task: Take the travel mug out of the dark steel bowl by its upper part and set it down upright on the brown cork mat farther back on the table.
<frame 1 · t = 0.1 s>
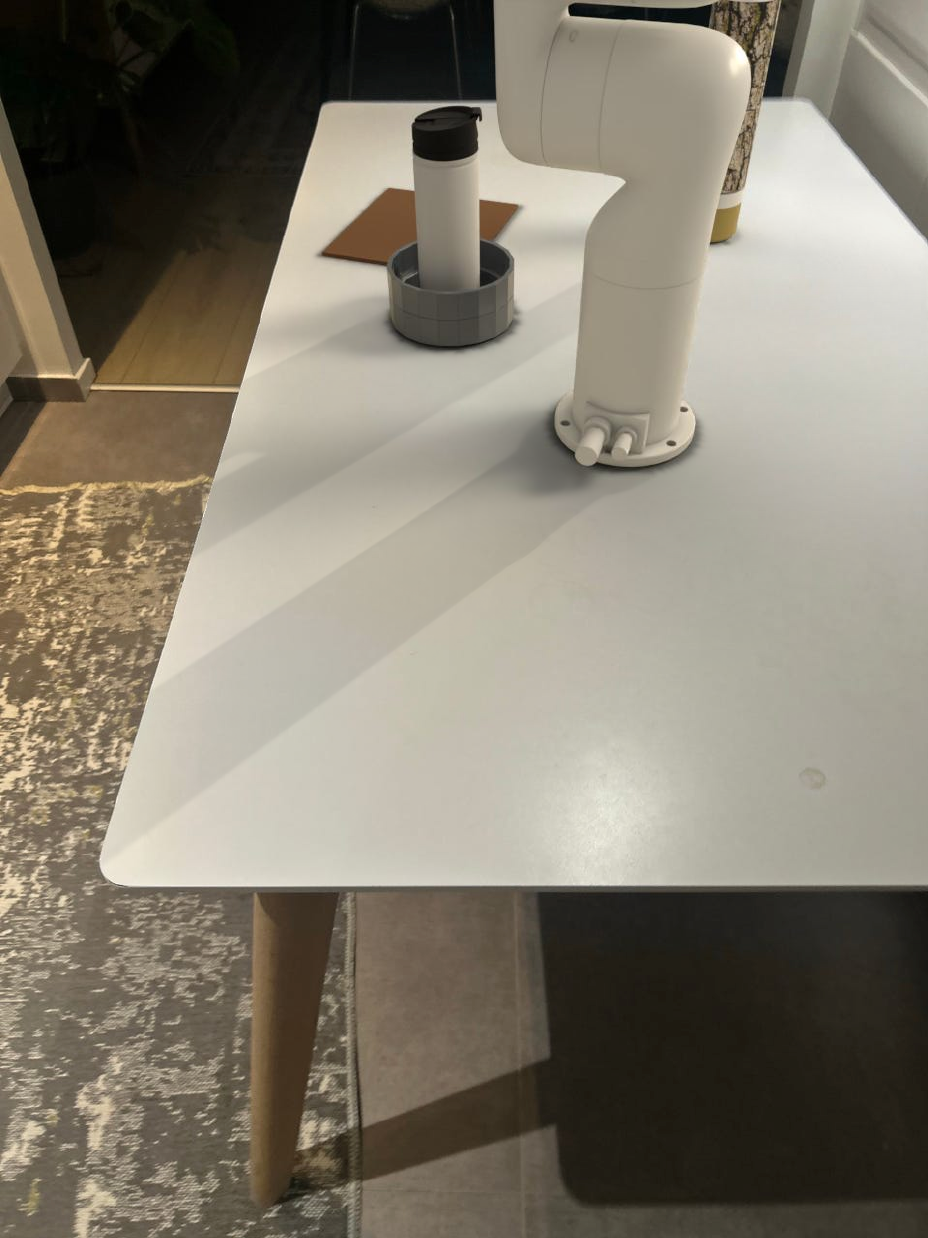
paper tube: (706, 233, 112), on the table
travel mug: (452, 316, 98), resting on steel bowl
cork mat: (423, 230, 113), on the table
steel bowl: (452, 317, 98), on the table
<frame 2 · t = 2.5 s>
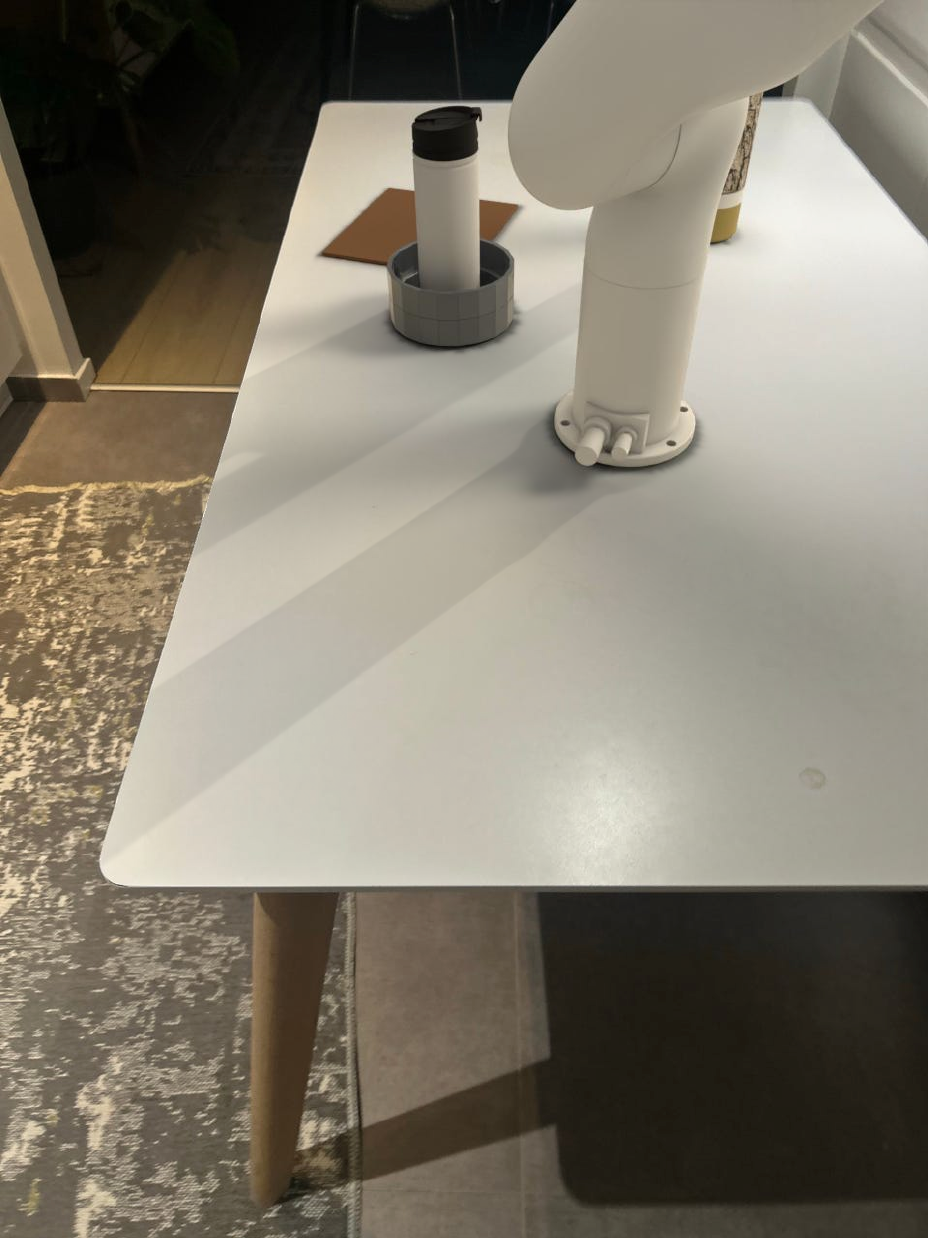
nothing on the table moved.
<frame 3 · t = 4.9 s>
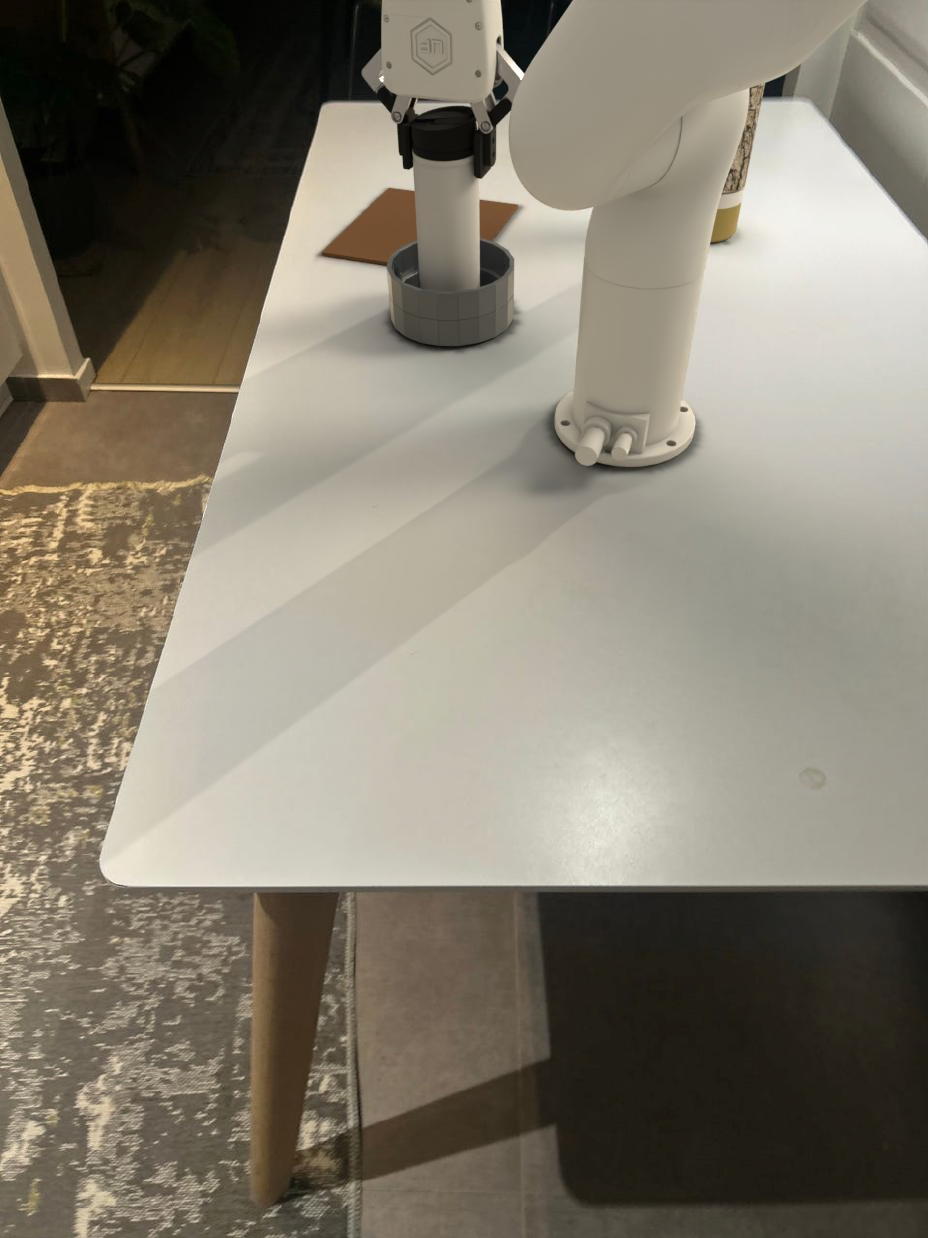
hand: (447, 166, 87), 15 cm above the table, tool pointing down, fingers closed on travel mug, 6 cm apart
travel mug: (452, 316, 98), resting on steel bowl, touching gripper
everything else where it was.
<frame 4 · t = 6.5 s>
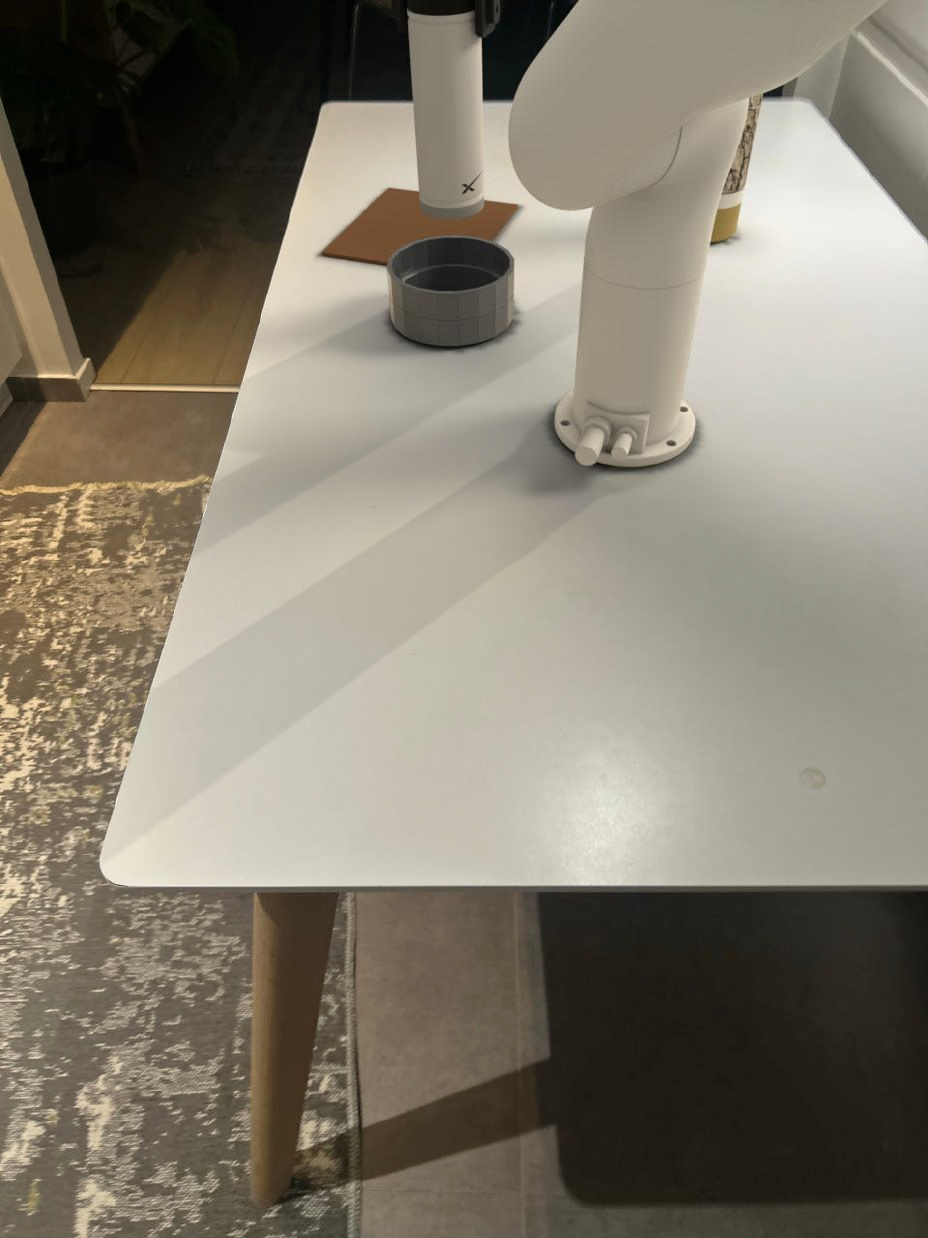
hand: (446, 28, 79), 27 cm above the table, tool pointing down, fingers closed on travel mug, 6 cm apart
travel mug: (453, 209, 90), point 12 cm above the table, touching gripper
everything else where it was.
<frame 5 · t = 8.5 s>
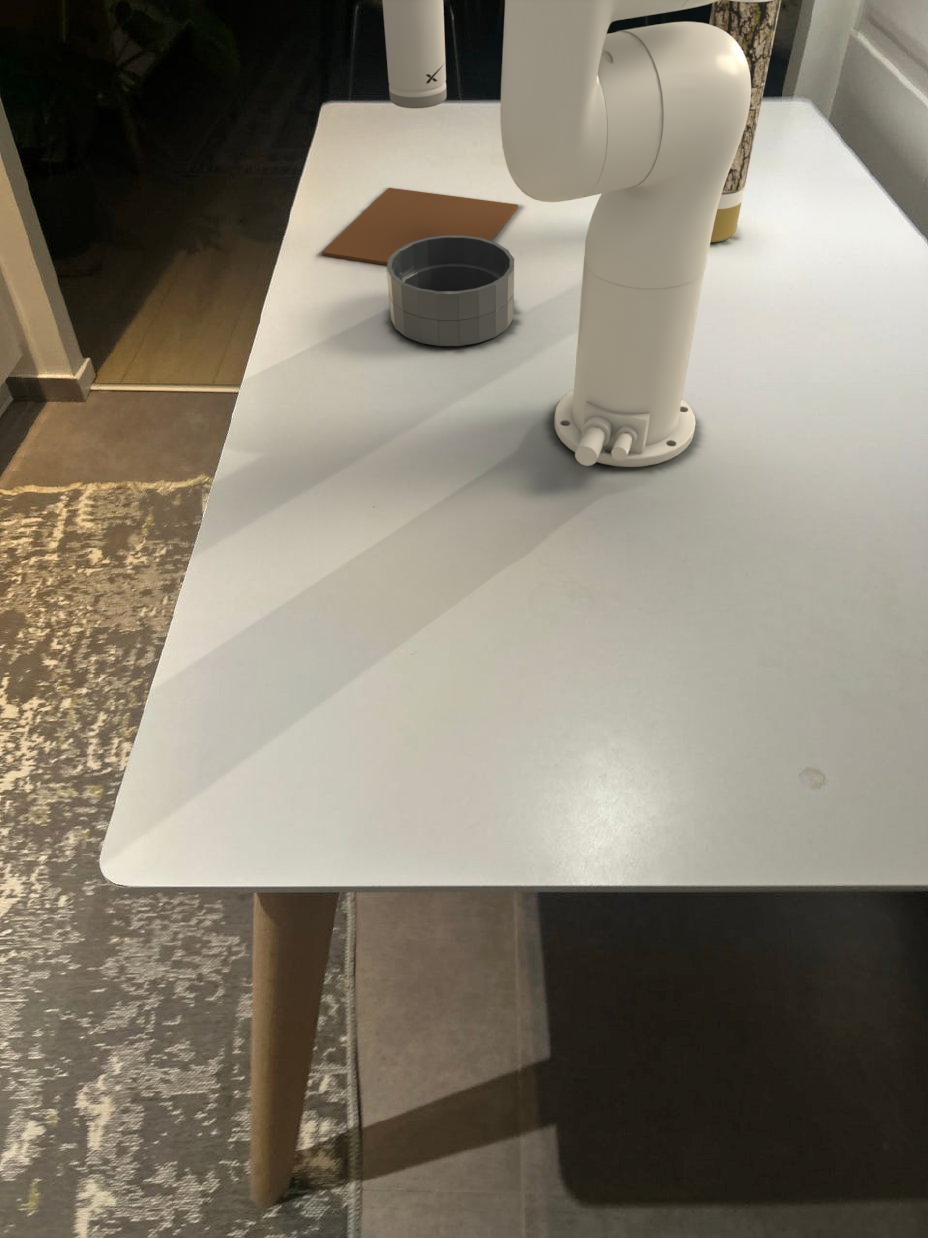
travel mug: (420, 101, 102), point 15 cm above the table, touching gripper
everything else where it was.
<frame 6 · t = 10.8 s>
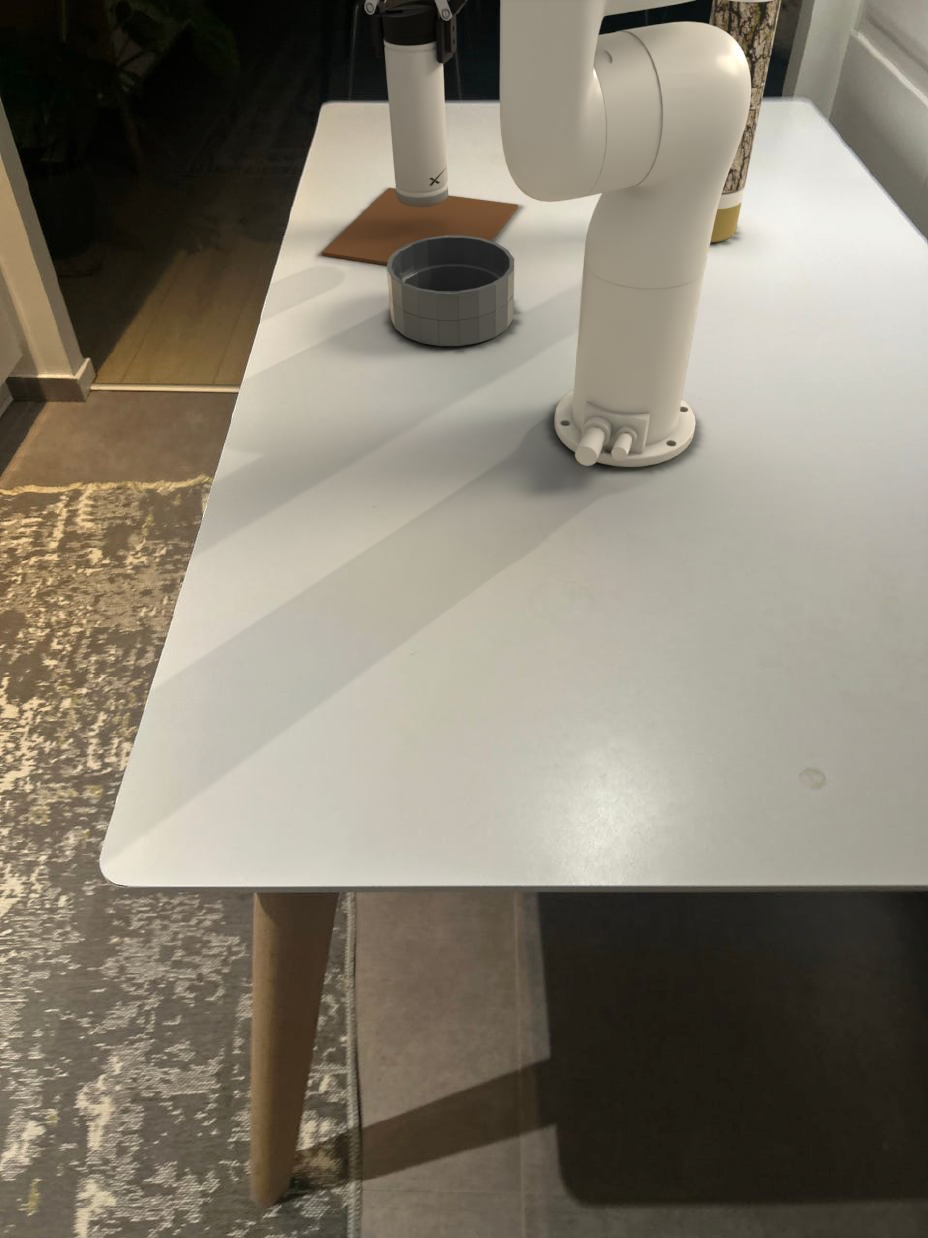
hand: (414, 55, 100), 19 cm above the table, tool pointing down, fingers closed on travel mug, 6 cm apart
travel mug: (423, 198, 111), point 4 cm above the table, touching gripper
everything else where it was.
when the fingers open (15 cm above the table, at t = 12.3 s): travel mug stays where it is, resting on cork mat.
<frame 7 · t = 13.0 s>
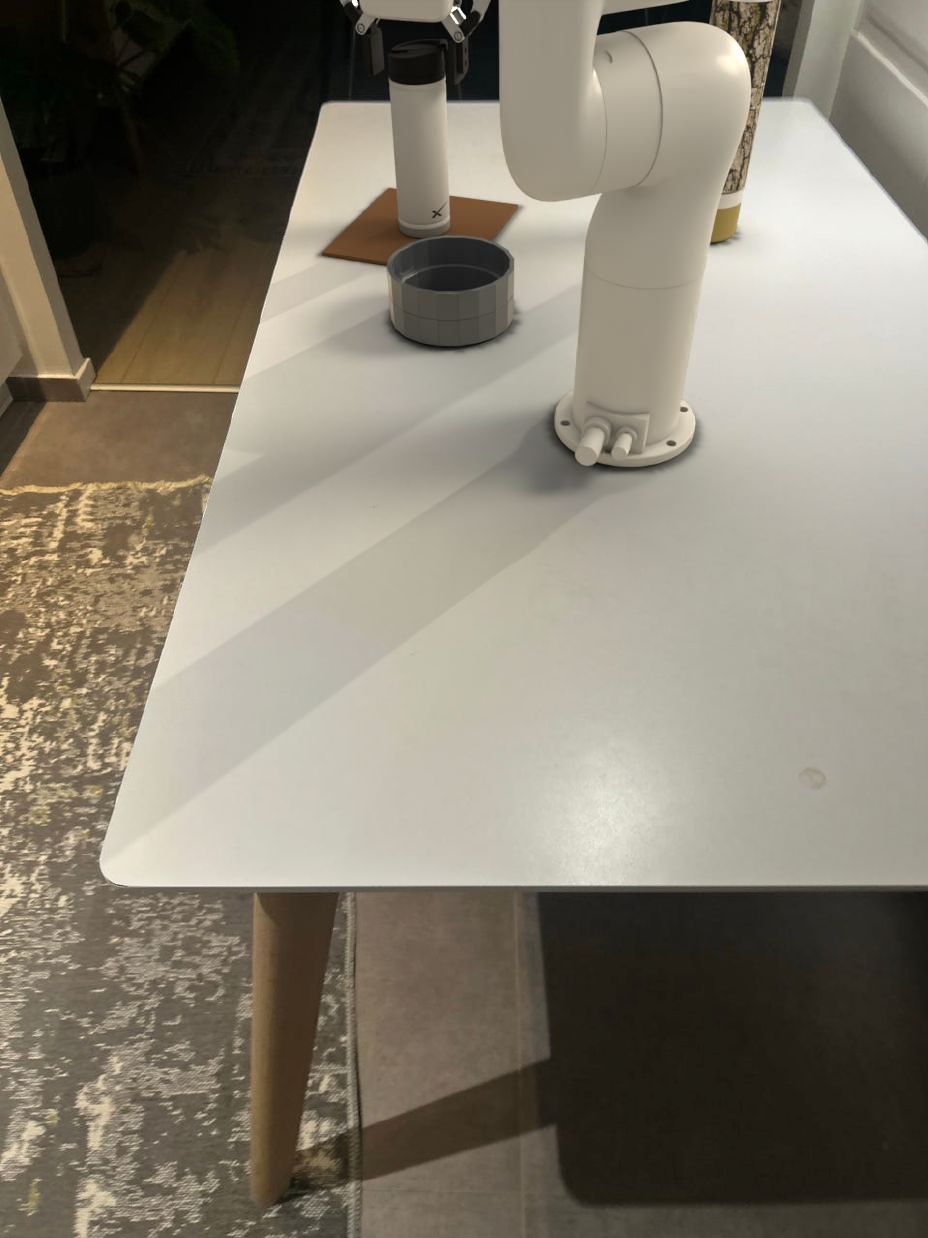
hand: (416, 76, 101), 17 cm above the table, tool pointing down, fingers open, 9 cm apart
travel mug: (426, 229, 113), resting on cork mat
everything else where it was.
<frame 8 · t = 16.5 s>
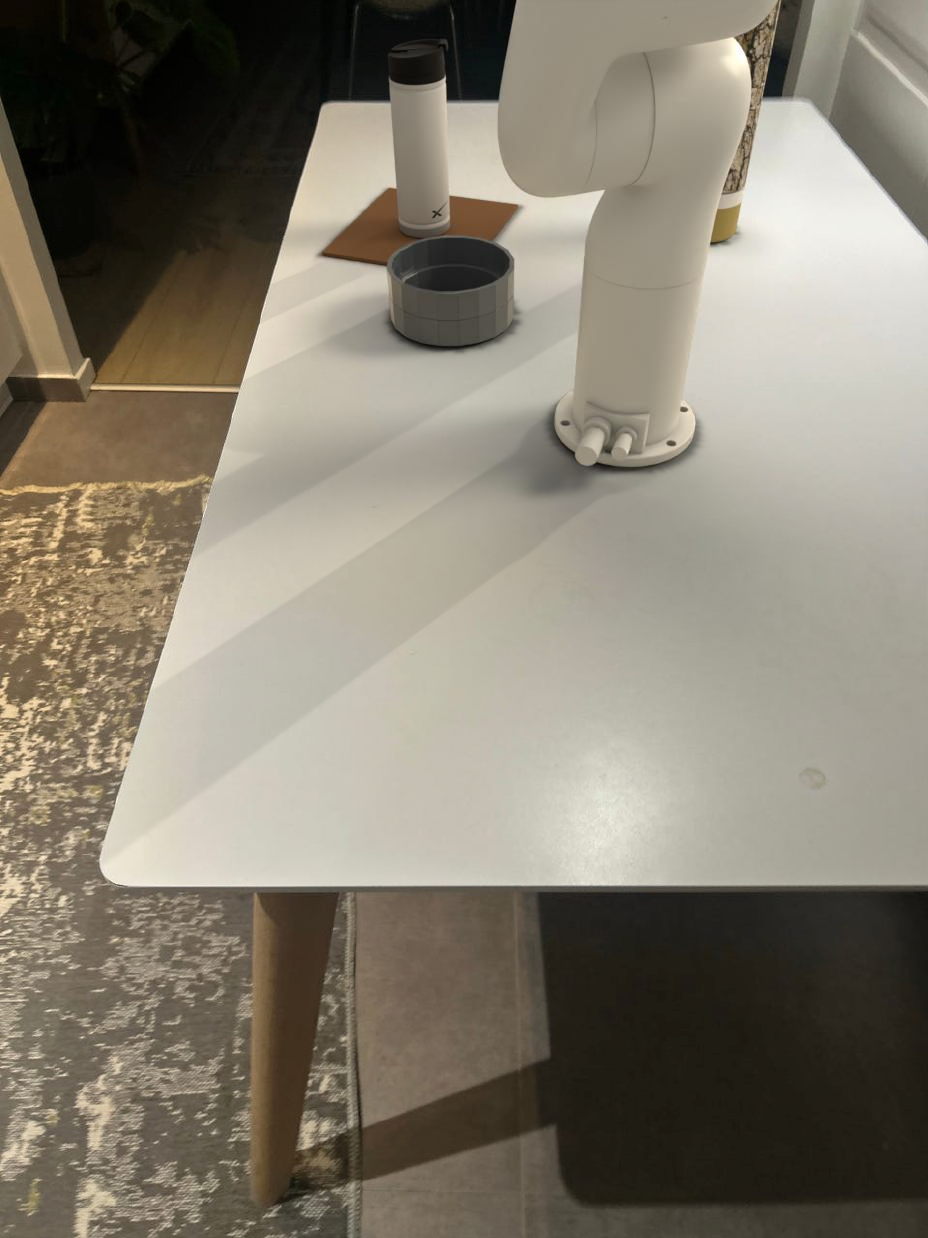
nothing on the table moved.
at the end: travel mug inside the target area on the cork mat (0.4 cm from its centre), point 0.2 cm above the cork mat's base; travel mug tilted 0°; travel mug touching cork mat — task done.
